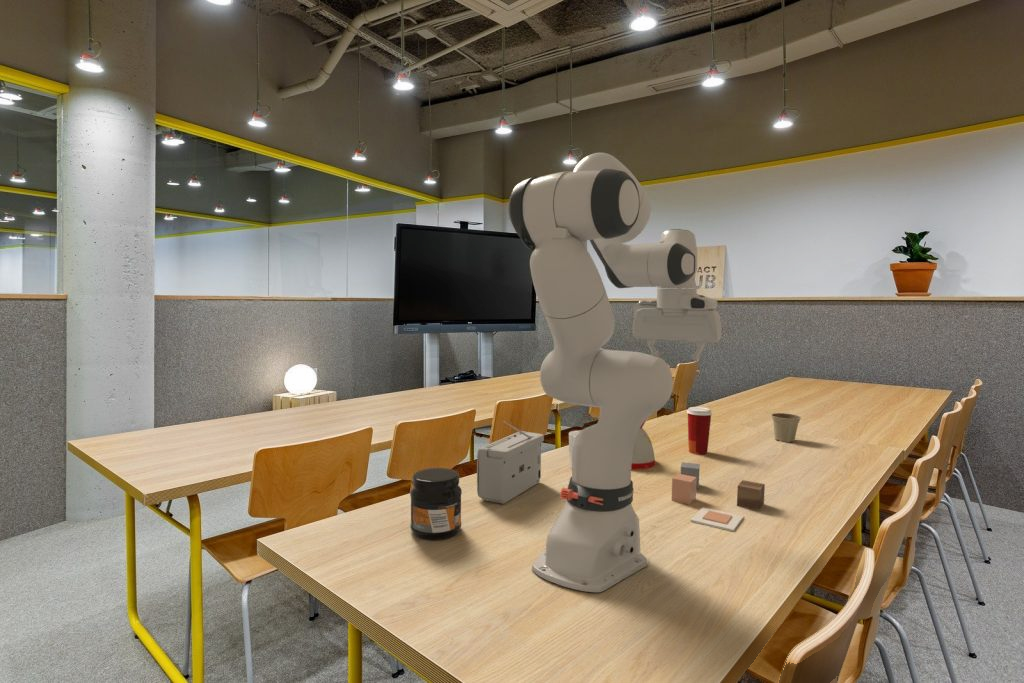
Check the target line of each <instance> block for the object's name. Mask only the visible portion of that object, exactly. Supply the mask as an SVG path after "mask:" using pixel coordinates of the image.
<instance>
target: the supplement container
mask: <svg viewBox="0 0 1024 683" xmlns="http://www.w3.org/2000/svg"><path fill="white" fill-rule="evenodd" d="M459 484H460V473H459V472H458V471H457V470H454V469H452V468H447V467H446V468H445V467H432V468H425V469H424V468H423V469H421V470H418V471H417V472H414V474H413V475H412V487H411V490H410V491H409V492H410V494H409V496H410V530H411V533H412V534H413V535H415V536H416V537H418V538H420V539H424V540H429V541H430V540H431V541H433V540H435V541H439V540H444V539H448V538H451V537H453V536H455V535H456V534H457V533H459V531H460V530H461V528H462V494H463V490H462V488H461V487H460V485H459Z"/></svg>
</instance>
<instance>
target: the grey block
mask: <svg viewBox="0 0 1024 683" xmlns="http://www.w3.org/2000/svg"><path fill="white" fill-rule="evenodd" d="M700 465H701V464H700V463H694V462H686V461H684V462H681V465H680V474H683V475H688V476H693V477H697V483H696V491H699V488H700V487H699V486H700V469H701V468H700V467H701V466H700Z"/></svg>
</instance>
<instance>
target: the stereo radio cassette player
mask: <svg viewBox="0 0 1024 683" xmlns="http://www.w3.org/2000/svg"><path fill="white" fill-rule="evenodd" d="M502 423H504V424H506V425H507V426H509V427H511V428H512V429H513V430H515V431H516V432H515V433H512V434H510V435H507V436H505V437H503V438H501V439H498V440H496V441H493V442H490V443H489V444H486V445H484V446H481V447H479V448H478V450H477V455H476V458H477V459H476V491H477V497H479V498H481V500H483V501H484V502H485V501H487V502H491V503H497V504H498V503H499V504H501V505H505V504H506V503H507V502H509V501H510V500H513V499H514V498H516V497H518V496H519V495H521V494H523V493H524V492H526V491H527V490H529V489H530V488H532V487H534V486H535V485H538V484H539V483H540V480H541V477H542V474H541V473H542V471H541V470H542V443H543V442H544V439H545V436H544V434H542V433H538V432H537V433H536V432H529V431H523V430H520V429H518V428H517V427H515V426H513V425H511V424H510V423H508V422H506V421H505V420H502Z"/></svg>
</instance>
